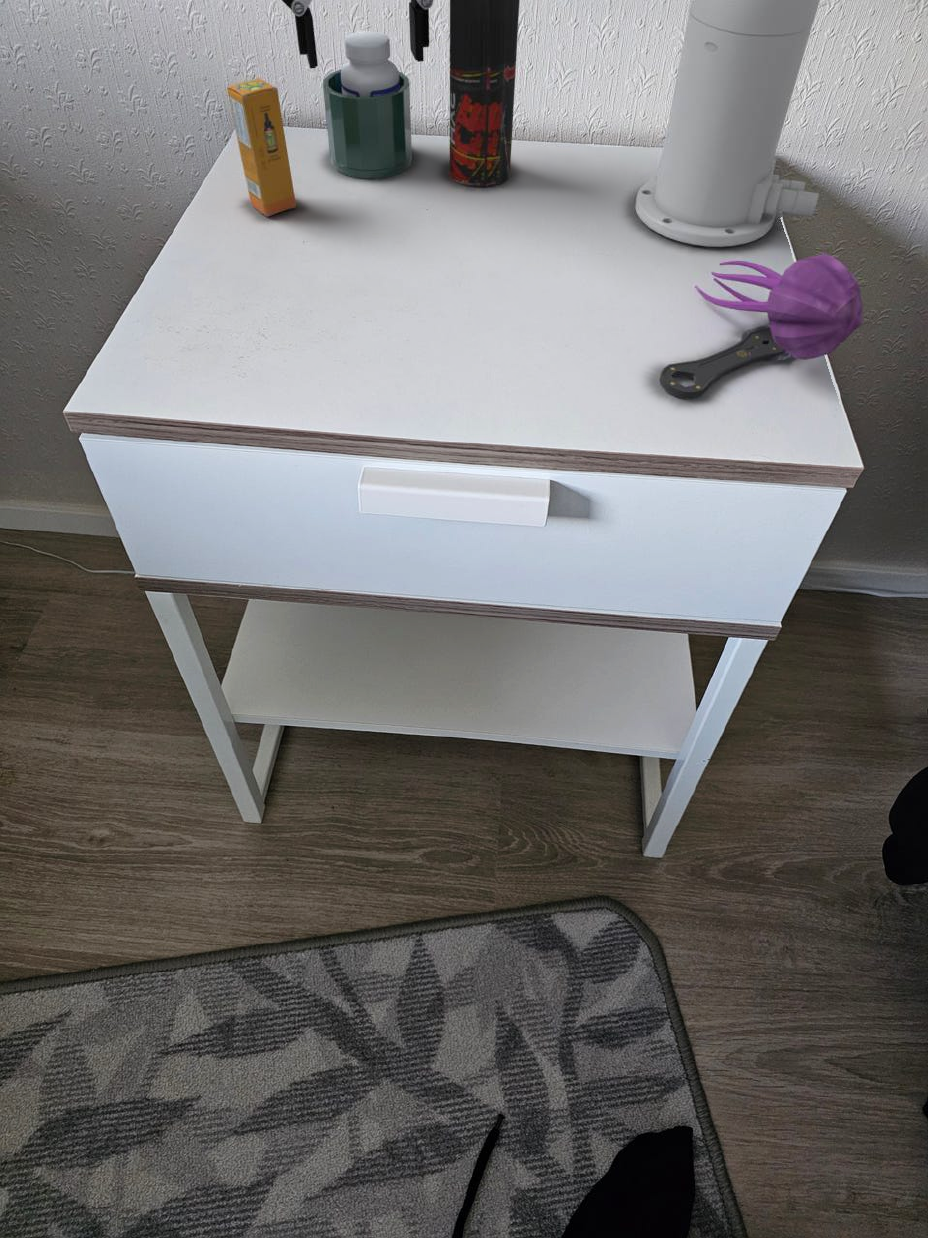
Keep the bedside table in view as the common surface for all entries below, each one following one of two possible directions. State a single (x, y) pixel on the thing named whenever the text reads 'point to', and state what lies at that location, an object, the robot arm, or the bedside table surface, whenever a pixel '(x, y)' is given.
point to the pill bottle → (368, 66)
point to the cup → (368, 130)
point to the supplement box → (262, 145)
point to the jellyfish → (802, 303)
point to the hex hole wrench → (722, 363)
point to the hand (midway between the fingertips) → (365, 59)
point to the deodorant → (482, 89)
